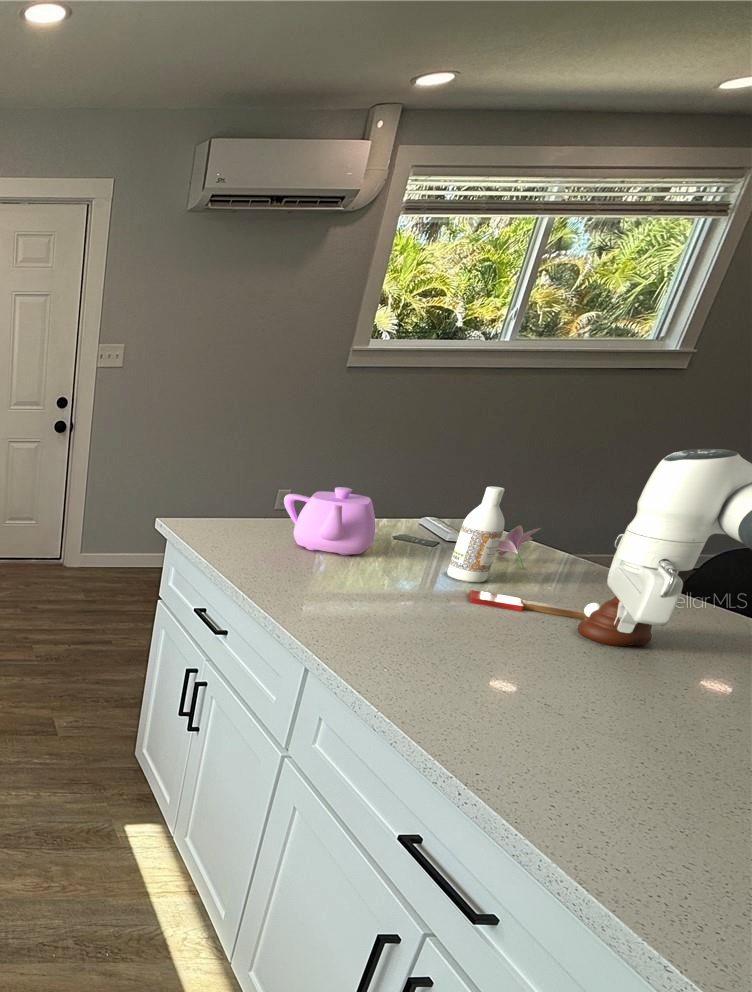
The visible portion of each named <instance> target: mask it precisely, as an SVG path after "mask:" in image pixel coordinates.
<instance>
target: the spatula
mask: <svg viewBox="0 0 752 992" xmlns="http://www.w3.org/2000/svg"><path fill="white" fill-rule="evenodd" d="M468 596H469V602H470V603H473V604H478V605H485V606H490V607H491V606H492V607H496V608H501V609H502V608H503V609H508V610H514V611H520V612H522V611H523V610H529V611H533V612H538V613H545V614H552V615H556V616H562V617H569V618H574V619H580V620H583V619H585V618H587V616H586V615H585V613H584V609H581V608H575V607H568V606H562V605H556V604H550V603H543V602H539V601H538V602H537V601H532V600H527V599H521V597H516V596H515V597H514V596H510V595H503V594H497V593H492V592H485V591H479V590H473V589H470V590H469V593H468Z"/></svg>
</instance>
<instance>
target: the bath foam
mask: <svg viewBox="0 0 752 992" xmlns="http://www.w3.org/2000/svg"><path fill="white" fill-rule="evenodd" d="M504 492H505V488H504V487H500V486H487V487H486V488H485V491H484V495H483V498H482V501H481V503H480V504H479V505H478V506H476V507H475V508H474V509H473V510H471V511H470V512H469V513H468V514H467V516H466V517H465V518H464V520H463V523H462V524H461V527H460V530H459V534H458V537H457V540H456V543H455V545H454V549H453V552H452V555H451V558H450V561H449V565H448V568H447V571H446V573H447V576H448V577H450V578H452V579H454V580H457V581H461V582H468V583H482V582H485V581H486V580H487V578H488V576H489V573H490V570H491V568H492V564H493V561H494V559H495V556H496V553H497V552H496V550H497V547H498V545H499V542H500V541H501V540H502V536H503V533H504V530H505V525H506V524H505V517H504V515H503V512H502V510H501V507H500V504H501V503H502V502H501V501H502V498H503V496H504Z"/></svg>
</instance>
